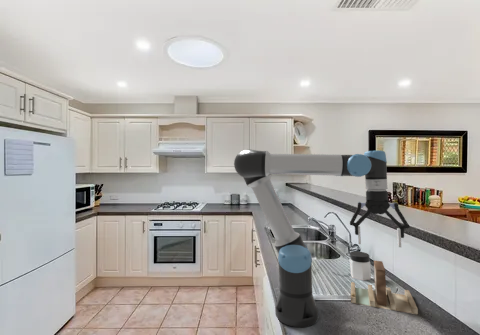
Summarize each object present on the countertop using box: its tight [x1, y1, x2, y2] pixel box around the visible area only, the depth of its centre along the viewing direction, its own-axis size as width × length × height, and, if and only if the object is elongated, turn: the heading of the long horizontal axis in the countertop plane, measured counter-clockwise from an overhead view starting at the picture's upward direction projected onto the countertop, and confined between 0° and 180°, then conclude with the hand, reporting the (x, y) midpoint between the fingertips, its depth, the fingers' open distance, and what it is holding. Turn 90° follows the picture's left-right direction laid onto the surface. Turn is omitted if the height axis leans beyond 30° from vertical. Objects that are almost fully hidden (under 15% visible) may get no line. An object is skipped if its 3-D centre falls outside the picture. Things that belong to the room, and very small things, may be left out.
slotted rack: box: [350, 281, 419, 315], centre depth 96 cm, size 21×14×4 cm, turn 66°
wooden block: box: [373, 260, 387, 306], centre depth 96 cm, size 3×10×13 cm, turn 156°
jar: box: [349, 251, 372, 281], centre depth 117 cm, size 9×8×12 cm
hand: (379, 244), depth 96 cm, fingers open, 13 cm apart
